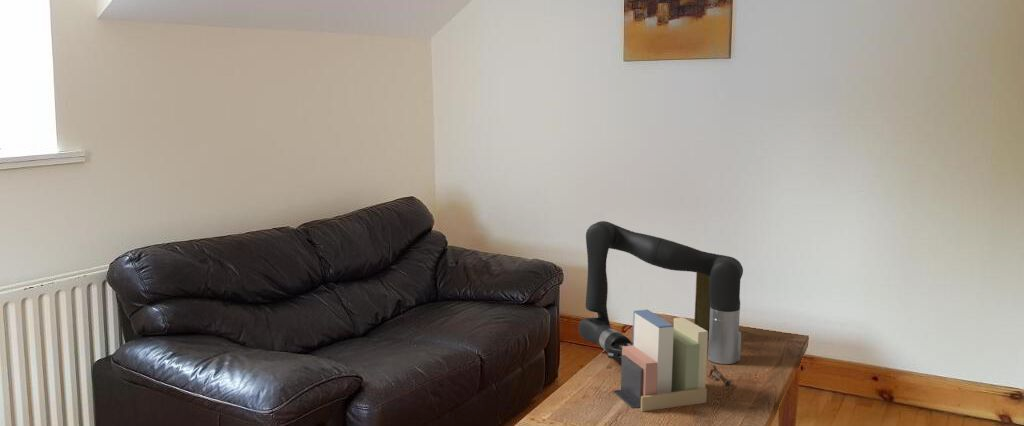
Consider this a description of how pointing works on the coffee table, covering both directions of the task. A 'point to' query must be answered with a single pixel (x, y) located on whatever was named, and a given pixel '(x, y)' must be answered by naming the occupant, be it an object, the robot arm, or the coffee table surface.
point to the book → (702, 301)
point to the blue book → (655, 344)
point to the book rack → (676, 369)
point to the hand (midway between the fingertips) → (639, 361)
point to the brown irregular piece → (713, 367)
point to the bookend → (630, 383)
